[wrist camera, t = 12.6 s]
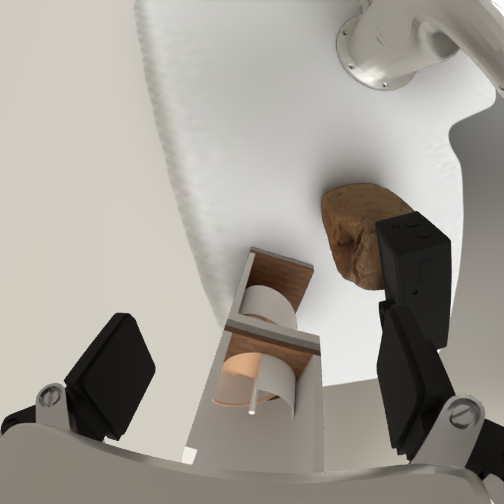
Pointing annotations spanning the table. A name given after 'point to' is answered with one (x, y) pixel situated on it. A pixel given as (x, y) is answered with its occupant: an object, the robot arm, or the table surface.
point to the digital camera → (417, 272)
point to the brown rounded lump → (359, 229)
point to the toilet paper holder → (263, 379)
